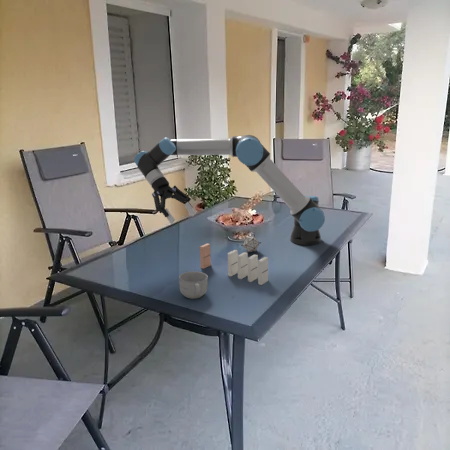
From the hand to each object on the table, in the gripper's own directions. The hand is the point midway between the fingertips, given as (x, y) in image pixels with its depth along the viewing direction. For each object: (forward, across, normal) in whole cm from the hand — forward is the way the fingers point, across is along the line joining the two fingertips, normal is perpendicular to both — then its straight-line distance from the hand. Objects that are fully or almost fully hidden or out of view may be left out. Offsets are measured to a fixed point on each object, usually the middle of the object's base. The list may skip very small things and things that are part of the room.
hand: (183, 218), depth 193 cm
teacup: (+34, +25, +4) cm, 42 cm away
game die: (+27, -26, -2) cm, 38 cm away
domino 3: (+36, 0, +8) cm, 37 cm away
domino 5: (+44, 0, +15) cm, 46 cm away
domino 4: (+40, 0, +12) cm, 42 cm away
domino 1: (+22, 0, -6) cm, 23 cm away
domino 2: (+33, 0, +4) cm, 33 cm away
